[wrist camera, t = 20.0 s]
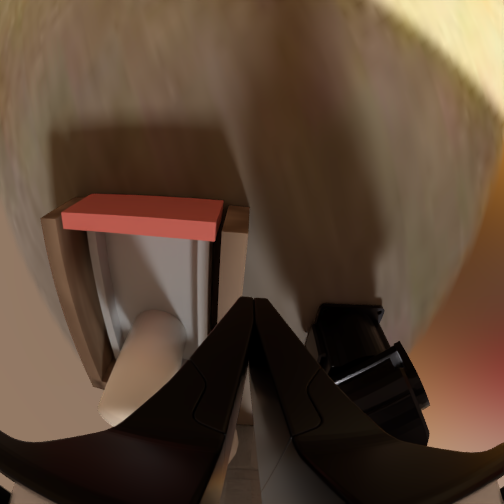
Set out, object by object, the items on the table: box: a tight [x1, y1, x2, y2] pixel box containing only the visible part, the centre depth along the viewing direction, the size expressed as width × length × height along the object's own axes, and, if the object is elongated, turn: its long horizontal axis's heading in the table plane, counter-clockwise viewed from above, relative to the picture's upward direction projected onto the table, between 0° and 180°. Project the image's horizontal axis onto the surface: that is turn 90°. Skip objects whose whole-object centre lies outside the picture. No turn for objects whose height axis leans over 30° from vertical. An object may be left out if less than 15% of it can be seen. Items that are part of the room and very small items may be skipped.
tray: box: [61, 194, 224, 368], centre depth 22 cm, size 11×17×4 cm, turn 174°
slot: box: [41, 197, 250, 390], centre depth 22 cm, size 15×18×5 cm
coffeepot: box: [219, 425, 262, 504], centre depth 28 cm, size 15×9×18 cm, turn 115°
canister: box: [98, 310, 187, 427], centre depth 20 cm, size 5×5×10 cm
